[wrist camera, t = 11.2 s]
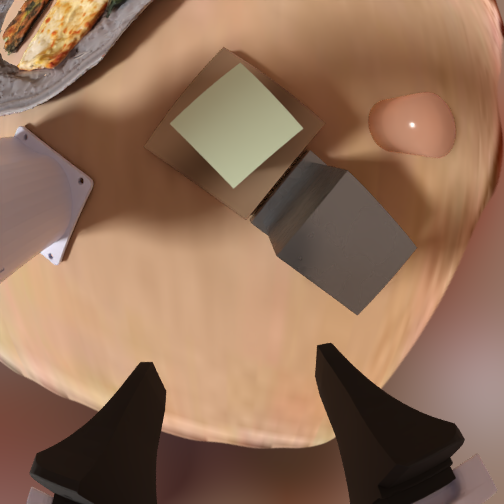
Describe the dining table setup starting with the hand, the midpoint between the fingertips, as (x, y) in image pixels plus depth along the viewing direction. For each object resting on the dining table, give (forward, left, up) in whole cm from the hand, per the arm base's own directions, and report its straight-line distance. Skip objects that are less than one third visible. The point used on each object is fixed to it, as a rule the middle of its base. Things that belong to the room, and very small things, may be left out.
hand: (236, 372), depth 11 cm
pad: (-6, +8, -9) cm, 14 cm away
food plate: (-28, +12, -10) cm, 32 cm away
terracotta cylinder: (+2, +16, -9) cm, 19 cm away
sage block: (-6, +8, -8) cm, 13 cm away
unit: (+2, +7, -9) cm, 12 cm away
